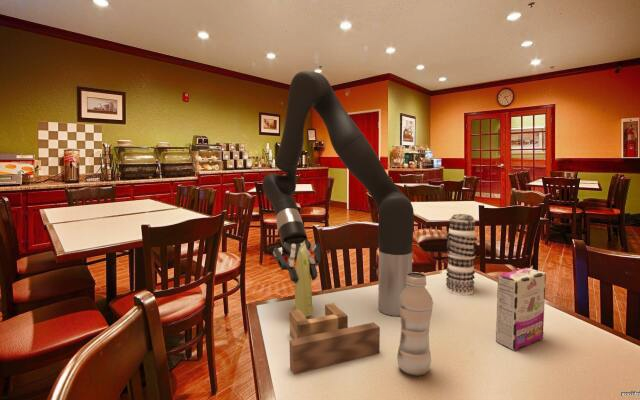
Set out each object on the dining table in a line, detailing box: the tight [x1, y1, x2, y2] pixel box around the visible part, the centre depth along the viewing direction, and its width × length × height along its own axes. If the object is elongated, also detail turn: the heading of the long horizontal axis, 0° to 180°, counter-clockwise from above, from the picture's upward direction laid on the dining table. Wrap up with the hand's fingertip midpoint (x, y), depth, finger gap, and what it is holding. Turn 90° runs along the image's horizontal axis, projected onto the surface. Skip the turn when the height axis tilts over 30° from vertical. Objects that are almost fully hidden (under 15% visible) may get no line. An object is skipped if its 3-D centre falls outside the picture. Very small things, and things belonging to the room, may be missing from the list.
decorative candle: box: [445, 213, 478, 296], centre depth 111 cm, size 9×9×25 cm
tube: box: [294, 241, 314, 318], centre depth 92 cm, size 6×5×20 cm
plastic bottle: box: [396, 271, 434, 376], centre depth 69 cm, size 6×7×20 cm
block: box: [288, 303, 349, 340], centre depth 83 cm, size 12×8×6 cm, turn 112°
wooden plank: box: [288, 322, 381, 375], centre depth 73 cm, size 20×2×6 cm, turn 112°
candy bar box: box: [495, 267, 547, 352], centre depth 80 cm, size 11×5×16 cm, turn 117°
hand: (305, 280), depth 91 cm, fingers closed on tube, 4 cm apart
